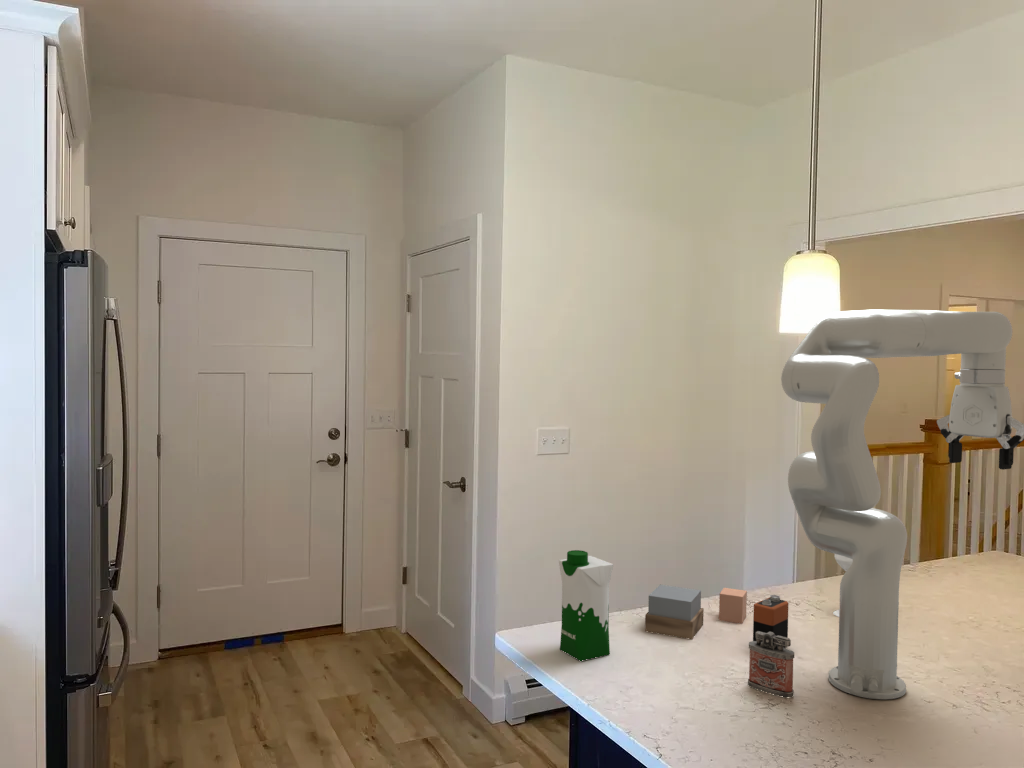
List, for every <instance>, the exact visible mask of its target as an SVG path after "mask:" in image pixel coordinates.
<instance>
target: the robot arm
mask: <svg viewBox="0 0 1024 768" xmlns="http://www.w3.org/2000/svg"><path fill="white" fill-rule="evenodd" d="M805 335H806V336H805V337H804V338H803V339H802V341H801V342H800V343H799V345H798V346H797V347H796V348H795V350H794V351H793V352H792V353H791V355H790V356H789V357H788V359H787V361H786V362H785V364H784V366H783V368H782V373H781V377H780V379H781V387H782V390H783V392H784V393H785V394H786V395H787V396H788V398H790V399H791V400H793V401H796V402H800V403H806V404H807V403H808V404H819V405H821V404H822V405H825V406H824V408H823V409H822V410H821V413H820V414H819V416H818V418H817V419H816V421H815V423H814V425H813V426H812V427H813V428H812V429H811V434H810V442H811V446H812V450H811V451H806V452H802V453H800V454H797V456H796V457H795V458H794V459H793V460H792V462H791V464H790V467H789V470H788V476H787V485H788V490H789V494H790V497H791V500H792V503H793V504H794V505H793V506H794V507H795V511H796V514H797V515H798V517H799V520H800V522H801V526H802V529H803V530H804V531H803V532H804V533H805V535H806V537H807V539H808V540H809V541H810V544H812V545H813V546H814V547H815V548H816V549H819V550H821V551H824V552H828V553H830V554H834V555H835V554H838V555H841V556H845V557H848V558H851V559H853V562H852V565H851V566H850V567H849V569H848V570H847V571H844V572H845V573H844V574H843V575H842V577H841V580H840V584H839V585H840V586H839V609H838V610H839V617H838V647H837V648H838V653H837V657H838V658H837V666H834V667H832V668H831V669H829V671H828V678H827V679H828V681H829V683H831V684H832V686H834V688H836V689H838V690H840V691H842V692H845V693H847V694H850V695H852V696H856V697H861V698H865V699H873V700H894V699H898V698H899V699H900V698H901V697H902V696H904V695H905V694H906V693H907V684H906V682H905V681H904V680H903V679H902V678H901V677H900V676H898V675H897V674H898V673H897V672H898V640H899V639H898V638H899V637H898V635H899V609H900V608H899V605H900V604H899V603H900V602H899V597H900V580H901V571H902V565H903V559H904V556H905V552H906V549H907V544H908V532H907V531H908V530H907V528H906V526H905V524H904V523H903V522H902V521H903V520H901V519H900V518H899V517H897V515H895V514H893V513H891V512H889V511H886V510H883V509H878V508H875V507H876V505H878V504H879V502H880V499H881V494H882V490H881V484H880V480H879V477H878V473H877V470H876V467H875V464H874V462H873V457H872V456H871V452H870V449H869V446H868V443H867V440H866V435H865V423H866V419H867V416H868V414H869V413H868V412H869V411H870V408H871V406H872V403H873V401H874V399H875V397H876V395H877V392H878V389H879V386H880V373H879V369H878V367H877V365H876V364H875V362H874V361H872V360H871V359H881V358H882V359H883V358H884V359H885V358H889V359H890V358H911V357H912V358H913V357H914V358H915V357H916V358H917V357H936V356H938V357H939V356H949V355H959V354H960V357H961V358H960V369H959V371H957V372H955V373H954V378H955V379H956V380H959V384H956V385H955V387H954V391H953V393H952V394H953V395H952V399H951V402H950V409H949V414H947V415H946V416H943V417H941V418H938V419H937V420H936V424H937V426H938V428H939V430H940V434H941V435H942V436H943V438H944V439H945V442H947V443H948V452H947V454H948V458H949V459H948V461H949V463H950V464H956V463H961V462H962V459H963V443H962V442H960V441H961V440H962V439H963V438H964V437H975V438H986V439H987V438H989V439H992V438H993V439H996V440H997V441H998V443H999V444H1000V445H1001V447H1002V448H1001V447H1000V448H999V451H998V469H999V470H1001V471H1002V470H1010V469H1012V466H1013V464H1014V456H1015V455H1014V450H1015V449H1016V448H1017V446H1019V445H1020V444H1021V443H1022V442H1024V423H1023V422H1021V421H1020V420H1018V419H1016V418H1014V417H1013V409H1012V408H1013V407H1012V400H1011V393H1010V389H1009V386H1006V384H1005V383H1006V360H1007V359H1006V357H1007V347H1008V346H1009V344H1010V343H1011V340H1012V339H1013V338H1012V337H1013V326H1012V323H1011V321H1010V320H1009V318H1008V317H1007V316H1006V315H1005V314H1003V313H1001V312H998V311H952V310H951V311H949V310H932V309H860V310H842V311H841V310H840V311H832V312H830V313H828V314H826V315H824V316H823V317H822V318H821V319H819V321H817V322H816V323H815V325H814V326H813V327H812V328H811V329H810V331H808V333H807V334H805ZM1013 429H1015V430H1016V432H1015V434H1014V435H1013V436H1011V435H1012V431H1013Z"/></svg>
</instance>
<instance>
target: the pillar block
mask: <svg viewBox="0 0 1024 768" xmlns="http://www.w3.org/2000/svg"><path fill="white" fill-rule="evenodd" d="M747 593H748V591H747V590H743V589H737V588H730V587H723V588H722V589H721V591H720V593H719V597H718V598H719V605H718V606H719V607H718V608H719V609H718V611H719V612H718V616H719V617H718V621H721V622H728V623H733V624H734V623H735V624H741V625H742V624H743V623H744V622H745V620H746V618H747V605H748V604H747V602H748V601H747V597H748V594H747Z"/></svg>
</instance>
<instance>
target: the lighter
mask: <svg viewBox="0 0 1024 768" xmlns="http://www.w3.org/2000/svg"><path fill="white" fill-rule="evenodd" d="M761 641H762V642H761ZM791 643H792V640H791V639H790V638H789V637H788V638H786V637H783V636H779V635H778V636H775V634H774V633H773V632H768V633H764V632H760V631H757V632H756V641H753V640H751V641H748V649H749V659H748V660H749V665H748V669H749V670H748V673H749V674H748V679H747V686H748V685H749V686H751V687H750V688H752V687H753V688H752V689H754V688H756V689H758V690H757V691H759V690H762V691H764V692H763V693H765V692H767V693H766V694H768V693H771V694H774V695H773V696H775V695H779V696H783V697H792V696H793V695H794V689H793V687H794V686H793V684H794V682H793V681H794V659H795V654H796V653H795V651H793V650H791V649H788V648H789V647H791ZM778 644H779V645H778ZM783 646H785V647H787V648H785V647H783ZM749 686H748V687H749ZM756 689H755V690H756ZM762 691H761V692H762ZM771 694H770V695H771ZM779 696H778V697H779ZM783 697H782V698H783ZM793 697H794V696H793ZM793 697H792V698H793Z"/></svg>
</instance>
